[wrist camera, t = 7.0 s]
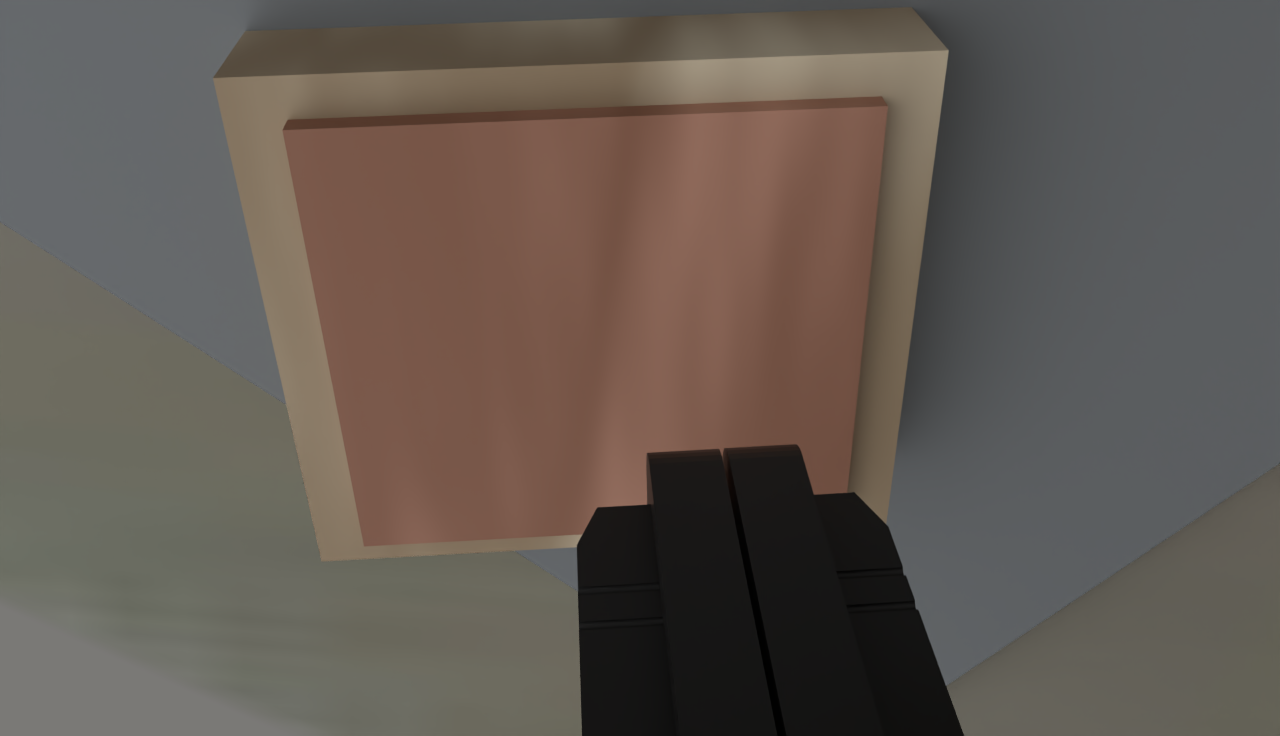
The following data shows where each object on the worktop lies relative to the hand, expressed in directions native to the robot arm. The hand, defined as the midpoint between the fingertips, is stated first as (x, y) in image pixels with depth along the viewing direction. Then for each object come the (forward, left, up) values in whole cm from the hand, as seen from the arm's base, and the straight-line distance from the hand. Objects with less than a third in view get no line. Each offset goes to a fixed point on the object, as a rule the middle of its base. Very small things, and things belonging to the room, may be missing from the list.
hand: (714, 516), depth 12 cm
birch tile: (+2, +2, -4) cm, 5 cm away
